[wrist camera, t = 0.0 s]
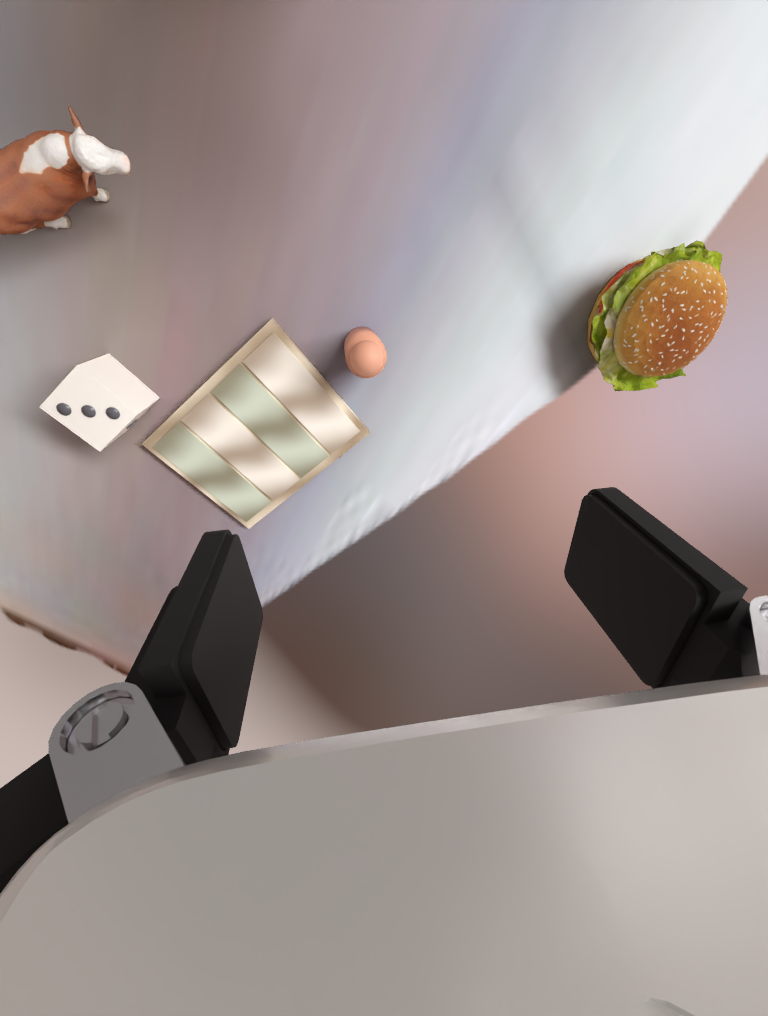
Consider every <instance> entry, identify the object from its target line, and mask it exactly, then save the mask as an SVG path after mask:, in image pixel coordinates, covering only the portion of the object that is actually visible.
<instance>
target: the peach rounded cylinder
mask: <svg viewBox="0 0 768 1016" xmlns="http://www.w3.org/2000/svg"><path fill="white" fill-rule="evenodd" d="M344 351H345V357H346V363H347V365H348V367H349V369H350V370H351V372H352V373H354V374H355V375H356V376H358V377H361V378H371V377H374V376H376V375H377V374H379V373H380V372H381V371H382V370H383V368H384V366H385V363H386V358H387V355H386V350H385V347H384V345H383V343H382V342H381V341H380V339H379V338H378V336H377V335H376V333H375V332H374V331H372V330H371V329H369V328H367V327H357V328H355V329H353V330H351V331H350V332H349V333H348V335H347V336H346V338H345V342H344Z"/></svg>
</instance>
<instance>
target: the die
mask: <svg viewBox="0 0 768 1016" xmlns="http://www.w3.org/2000/svg"><path fill="white" fill-rule="evenodd" d="M158 399H159V397H158V396H157V395H156V394H155V393H154V392H153V391H151V390H150V389H149V388H148V387H147V386H146V385H145V384H143V383H142V382H141V381H140V380H139V379H138V378H137V377H135V376H134V375H133V374H132V373H131V372H130V371H129V370H127V369H126V368H125V367H124V366H123V365H122V364H120V363H119V362H118V361H117V360H116V359H115V358H114V357H112V356H111V355H110V354H106V355H103V356H101V357H98V358H95V359H93V360H90V361H87V362H85V363H82V364H79V365H77V366H76V367H75V368H74V369H73V370H72V371H71V372H70V373H69V374H68V376H67V377H66V378H65V379H64V380H63V381H62V382H61V383H60V385H59V386H58V387H57V388H56V389H55V390H54V391H53V392H52V393H51V395H50V396H49V397H48V398H47V399H46V400H45V401H44V402H43V403H42V405H41V406H40V408H41V409H42V410H44V411H45V412H46V413H48V414H49V415H50V416H52V417H53V418H55V419H56V420H57V421H59V422H60V423H61V424H63V425H64V426H65V427H67V428H68V429H70V430H71V431H72V432H74V433H75V434H76V435H78V436H79V437H80V438H82V439H83V440H84V441H86V442H87V443H89V444H90V445H91V446H93V447H94V448H95V449H97V450H98V451H99V452H100V451H102V450H103V449H104V448H106V447H107V446H108V445H109V444H111V443H112V442H113V441H115V440H116V439H117V438H118V437H120V436H121V435H122V434H123V433H125V432H126V431H127V430H128V429H129V428H130V427H131V426H132V425H133V424H134V423H135V422H136V421H137V420H138V419H139V418H140V417H141V416H142V415H143V414H144V413H145V412H146V411H147V410H148V409H149V408H150V407H151V406H152V405H153V404H154V403H155V402H156V401H157V400H158Z"/></svg>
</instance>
